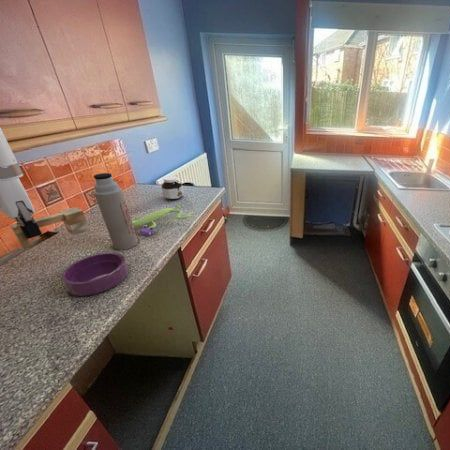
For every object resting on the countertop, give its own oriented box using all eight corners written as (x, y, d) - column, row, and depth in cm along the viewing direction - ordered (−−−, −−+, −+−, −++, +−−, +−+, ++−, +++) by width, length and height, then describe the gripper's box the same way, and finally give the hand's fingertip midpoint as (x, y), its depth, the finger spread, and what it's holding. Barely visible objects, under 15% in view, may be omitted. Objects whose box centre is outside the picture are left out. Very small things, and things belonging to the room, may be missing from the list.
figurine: (199, 223, 115) (197, 212, 112) (132, 241, 99) (128, 229, 97) (185, 209, 127) (183, 199, 125) (124, 224, 111) (120, 212, 109)
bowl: (81, 305, 70) (74, 291, 67) (59, 283, 77) (52, 270, 75) (138, 275, 82) (134, 263, 79) (115, 259, 89) (110, 247, 86)
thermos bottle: (142, 239, 101) (121, 171, 88) (130, 250, 94) (106, 178, 81) (122, 238, 101) (98, 170, 88) (109, 249, 94) (81, 177, 81)
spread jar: (170, 202, 134) (166, 181, 129) (158, 197, 139) (153, 177, 134) (189, 196, 144) (186, 176, 138) (177, 191, 149) (173, 172, 143)
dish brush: (26, 251, 69) (14, 229, 66) (20, 245, 71) (8, 224, 68) (90, 230, 81) (82, 210, 78) (83, 225, 83) (76, 206, 80)
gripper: (-31, 169, 63) (5, 232, 72) (-14, 182, 56) (24, 250, 65) (10, 163, 69) (40, 222, 78) (31, 174, 62) (60, 238, 70)
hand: (32, 234), depth 71 cm, fingers closed on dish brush
